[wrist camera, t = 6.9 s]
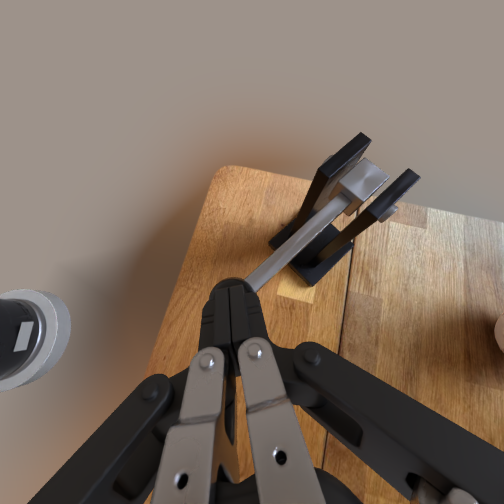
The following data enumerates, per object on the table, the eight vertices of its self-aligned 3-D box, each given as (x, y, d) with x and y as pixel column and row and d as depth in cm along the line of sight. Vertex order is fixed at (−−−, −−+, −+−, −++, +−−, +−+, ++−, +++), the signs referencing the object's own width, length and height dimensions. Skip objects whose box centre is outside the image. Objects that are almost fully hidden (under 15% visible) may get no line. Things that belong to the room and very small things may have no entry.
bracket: (310, 287, 27) (379, 256, 12) (267, 244, 29) (282, 170, 14) (351, 247, 29) (458, 175, 14) (308, 208, 31) (360, 105, 15)
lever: (234, 336, 15) (227, 343, 12) (205, 301, 15) (191, 299, 12) (374, 201, 17) (400, 177, 14) (344, 176, 18) (362, 148, 15)
